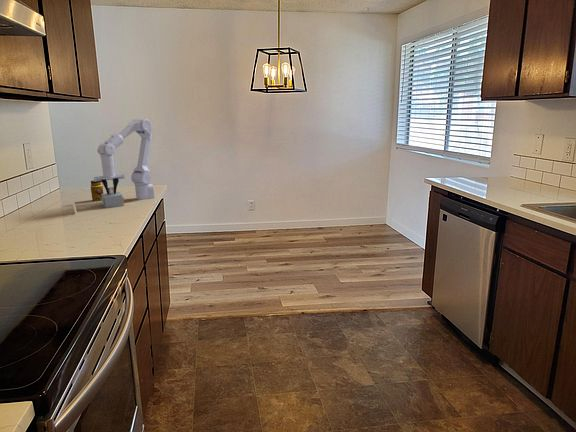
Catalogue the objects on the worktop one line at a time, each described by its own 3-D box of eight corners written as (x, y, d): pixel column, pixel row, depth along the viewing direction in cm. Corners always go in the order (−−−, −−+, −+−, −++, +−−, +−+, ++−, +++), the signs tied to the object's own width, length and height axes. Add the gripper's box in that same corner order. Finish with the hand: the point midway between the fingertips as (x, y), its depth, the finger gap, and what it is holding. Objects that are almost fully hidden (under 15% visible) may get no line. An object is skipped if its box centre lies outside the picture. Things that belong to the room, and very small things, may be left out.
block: (123, 203, 231) (122, 196, 230) (124, 205, 227) (123, 197, 226) (115, 204, 229) (114, 197, 228) (116, 206, 226) (115, 198, 225)
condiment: (103, 203, 237) (100, 181, 234) (87, 203, 236) (83, 182, 233) (106, 200, 244) (104, 179, 241) (91, 201, 243) (88, 179, 240)
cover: (120, 202, 233) (118, 185, 231) (123, 205, 224) (121, 188, 222) (102, 204, 229) (100, 187, 227) (104, 208, 220) (102, 190, 218)
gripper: (93, 169, 215) (97, 196, 218) (124, 167, 222) (127, 193, 225) (92, 168, 221) (95, 194, 224) (122, 165, 228) (125, 191, 231)
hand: (111, 193), depth 225 cm, fingers closed on cover, 3 cm apart
